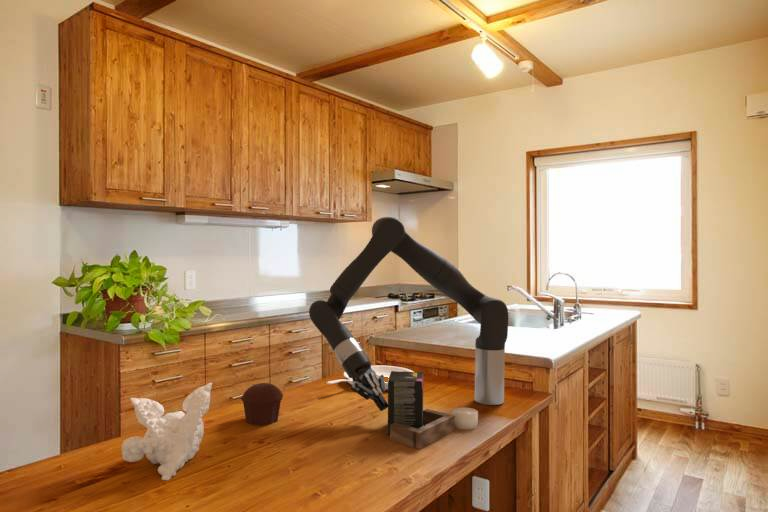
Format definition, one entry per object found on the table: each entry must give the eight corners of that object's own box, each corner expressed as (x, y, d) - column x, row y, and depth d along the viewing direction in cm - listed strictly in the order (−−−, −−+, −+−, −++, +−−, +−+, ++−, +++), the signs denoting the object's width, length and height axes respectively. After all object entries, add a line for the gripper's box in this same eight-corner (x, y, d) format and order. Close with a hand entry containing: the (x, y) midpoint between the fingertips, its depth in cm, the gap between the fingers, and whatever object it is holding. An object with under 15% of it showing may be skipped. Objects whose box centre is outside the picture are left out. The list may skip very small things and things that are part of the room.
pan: (430, 382, 190) (430, 369, 190) (356, 405, 161) (356, 390, 161) (377, 371, 208) (377, 359, 207) (301, 389, 179) (301, 375, 179)
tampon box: (422, 437, 134) (423, 381, 134) (386, 436, 135) (387, 379, 134) (423, 423, 145) (423, 371, 144) (389, 422, 145) (390, 370, 145)
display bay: (426, 423, 145) (426, 408, 145) (454, 430, 139) (455, 415, 139) (390, 440, 131) (390, 424, 131) (419, 449, 126) (419, 432, 126)
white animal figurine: (209, 400, 133) (212, 374, 117) (216, 482, 124) (220, 466, 108) (128, 412, 126) (119, 386, 110) (128, 500, 117) (119, 486, 101)
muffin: (269, 411, 154) (269, 377, 154) (291, 420, 146) (291, 384, 146) (233, 420, 146) (233, 384, 145) (253, 430, 138) (254, 392, 138)
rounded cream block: (460, 419, 149) (460, 405, 149) (482, 425, 144) (482, 410, 144) (447, 426, 143) (447, 411, 143) (470, 431, 139) (470, 417, 139)
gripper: (344, 353, 143) (378, 406, 136) (374, 346, 154) (407, 396, 146) (329, 369, 146) (361, 422, 139) (359, 362, 157) (391, 410, 149)
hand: (384, 408), depth 143 cm, fingers closed
